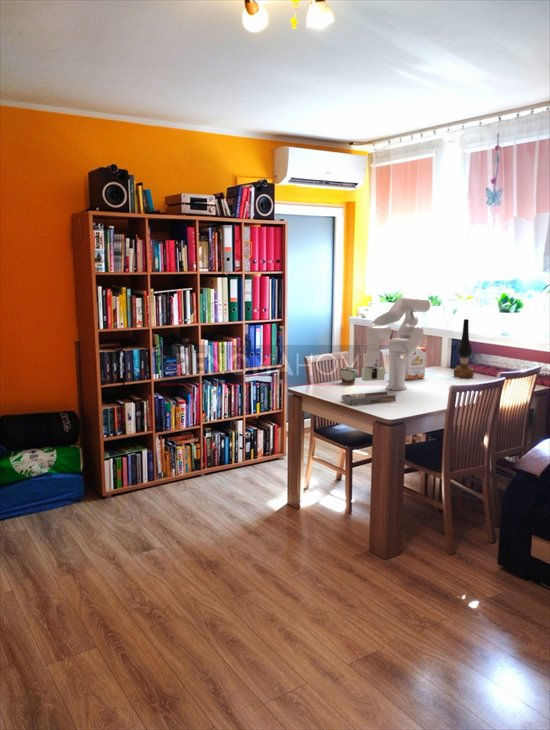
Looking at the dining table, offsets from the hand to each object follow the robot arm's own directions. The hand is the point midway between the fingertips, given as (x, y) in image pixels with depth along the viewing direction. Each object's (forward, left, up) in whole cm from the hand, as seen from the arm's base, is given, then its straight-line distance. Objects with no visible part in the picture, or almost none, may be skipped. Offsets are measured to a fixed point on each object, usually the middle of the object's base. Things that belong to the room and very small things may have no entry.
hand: (372, 377), depth 351 cm
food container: (-35, +2, -11) cm, 37 cm away
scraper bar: (0, 0, -1) cm, 1 cm away
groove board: (+15, -3, -10) cm, 18 cm away
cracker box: (-34, +49, -11) cm, 61 cm away
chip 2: (+15, -15, -10) cm, 23 cm away
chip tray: (+15, -17, -10) cm, 25 cm away
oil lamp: (-28, +84, -11) cm, 89 cm away
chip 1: (+15, -17, -8) cm, 24 cm away
